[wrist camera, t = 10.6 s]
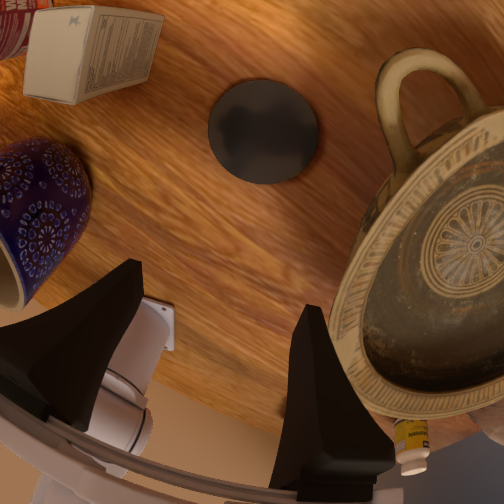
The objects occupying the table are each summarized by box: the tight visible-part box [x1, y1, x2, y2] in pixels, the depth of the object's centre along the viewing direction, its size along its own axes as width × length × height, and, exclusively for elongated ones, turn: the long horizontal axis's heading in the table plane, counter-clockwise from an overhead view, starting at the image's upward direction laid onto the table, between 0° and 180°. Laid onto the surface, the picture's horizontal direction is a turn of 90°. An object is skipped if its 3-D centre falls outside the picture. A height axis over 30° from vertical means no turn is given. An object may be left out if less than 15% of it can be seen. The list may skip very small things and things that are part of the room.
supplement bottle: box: [395, 418, 430, 475], centre depth 35 cm, size 5×5×10 cm
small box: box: [23, 5, 164, 105], centre depth 12 cm, size 5×4×8 cm
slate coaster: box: [208, 80, 319, 184], centre depth 18 cm, size 7×7×1 cm
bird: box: [466, 398, 504, 446], centre depth 24 cm, size 5×14×15 cm, turn 157°
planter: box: [0, 136, 92, 312], centre depth 18 cm, size 11×11×11 cm
